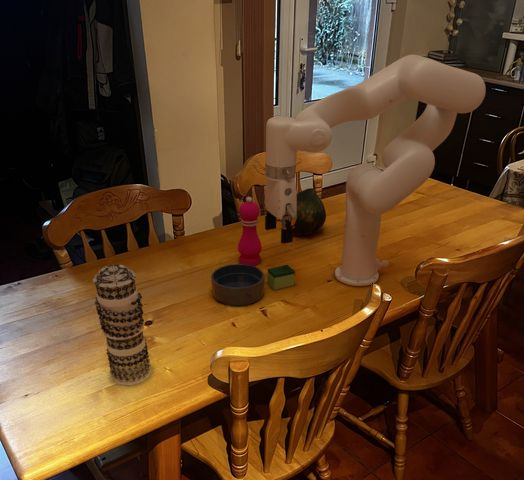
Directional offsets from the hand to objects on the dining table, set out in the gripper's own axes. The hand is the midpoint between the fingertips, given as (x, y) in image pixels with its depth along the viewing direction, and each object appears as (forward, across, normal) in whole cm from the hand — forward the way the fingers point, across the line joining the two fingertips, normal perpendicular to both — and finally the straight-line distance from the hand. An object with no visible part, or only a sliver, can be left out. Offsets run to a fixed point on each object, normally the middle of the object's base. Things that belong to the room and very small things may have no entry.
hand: (278, 235), depth 142 cm
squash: (+14, +30, -25) cm, 41 cm away
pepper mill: (+15, +16, +1) cm, 22 cm away
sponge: (+14, -1, -1) cm, 14 cm away
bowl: (+14, -1, +12) cm, 19 cm away
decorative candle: (+15, -24, +47) cm, 55 cm away
